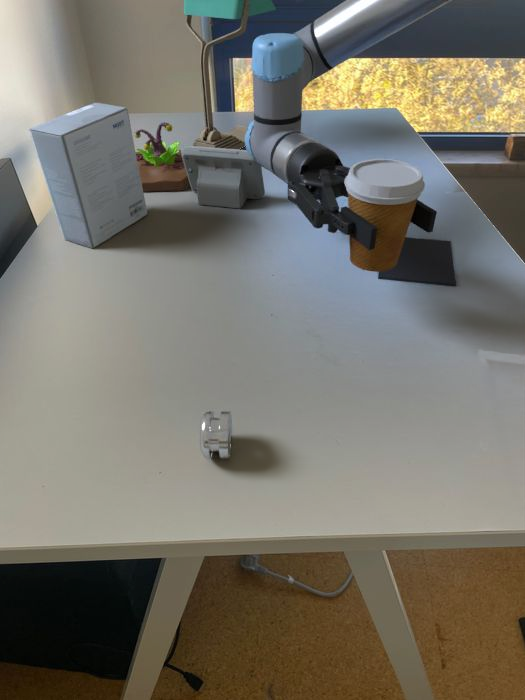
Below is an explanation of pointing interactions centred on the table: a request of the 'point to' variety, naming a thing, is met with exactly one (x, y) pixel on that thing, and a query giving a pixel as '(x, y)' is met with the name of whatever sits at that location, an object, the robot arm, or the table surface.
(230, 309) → the table surface
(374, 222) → the disposable coffee cup
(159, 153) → the plant
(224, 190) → the digital clock
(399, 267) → the mat
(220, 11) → the banker's lamp
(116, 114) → the hard drive box
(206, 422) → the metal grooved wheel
